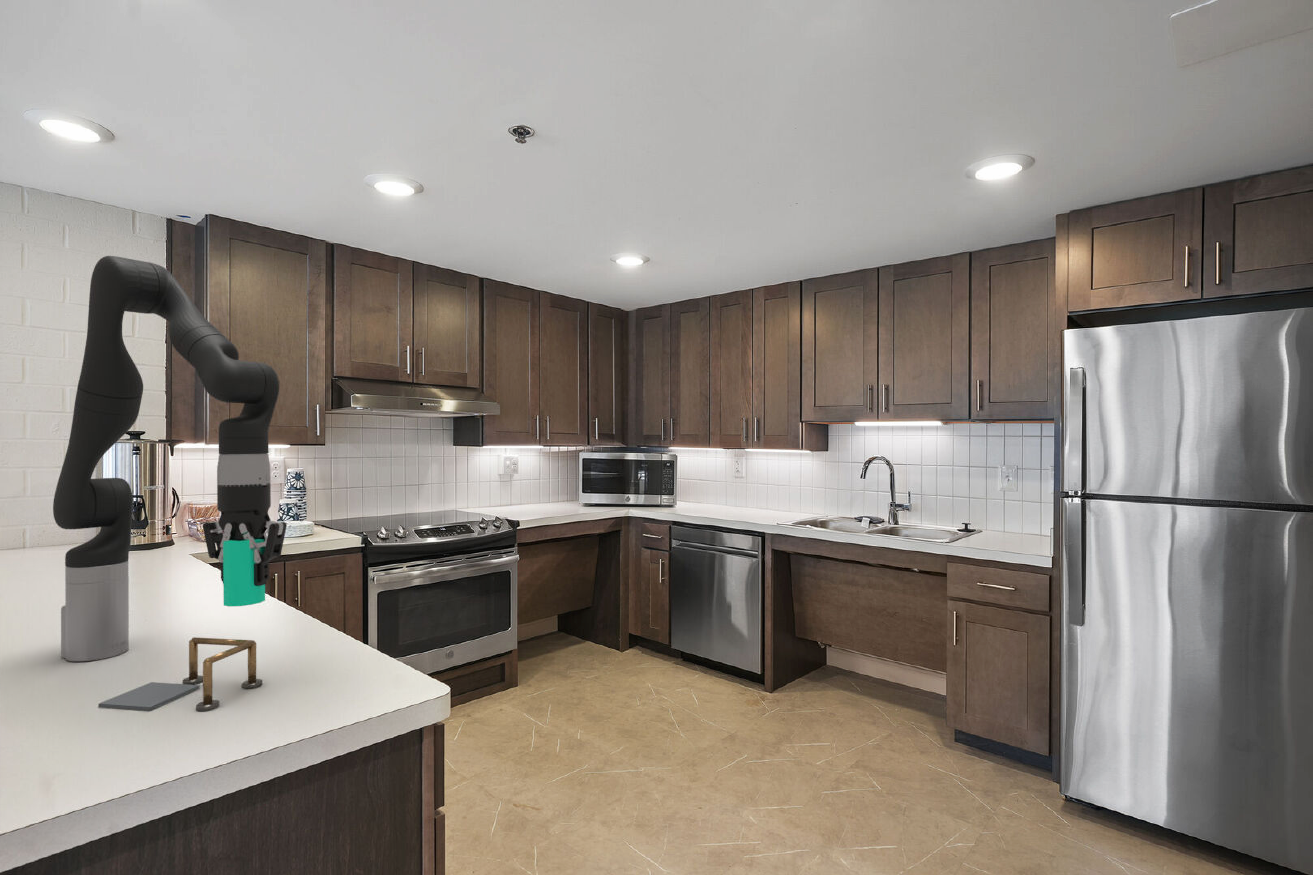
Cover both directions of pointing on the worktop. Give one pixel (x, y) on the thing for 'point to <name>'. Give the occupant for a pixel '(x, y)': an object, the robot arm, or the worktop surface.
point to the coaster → (149, 696)
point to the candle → (240, 574)
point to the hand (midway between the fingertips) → (245, 584)
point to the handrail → (207, 664)
